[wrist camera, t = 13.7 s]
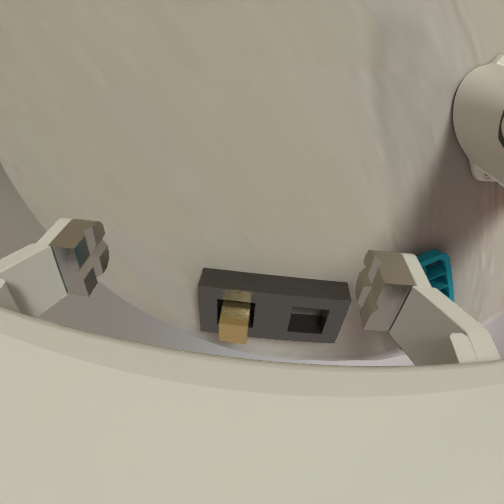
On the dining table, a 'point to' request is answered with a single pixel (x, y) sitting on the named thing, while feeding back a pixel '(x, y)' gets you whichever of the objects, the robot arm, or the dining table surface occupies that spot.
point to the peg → (234, 321)
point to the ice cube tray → (438, 272)
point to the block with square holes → (276, 304)
